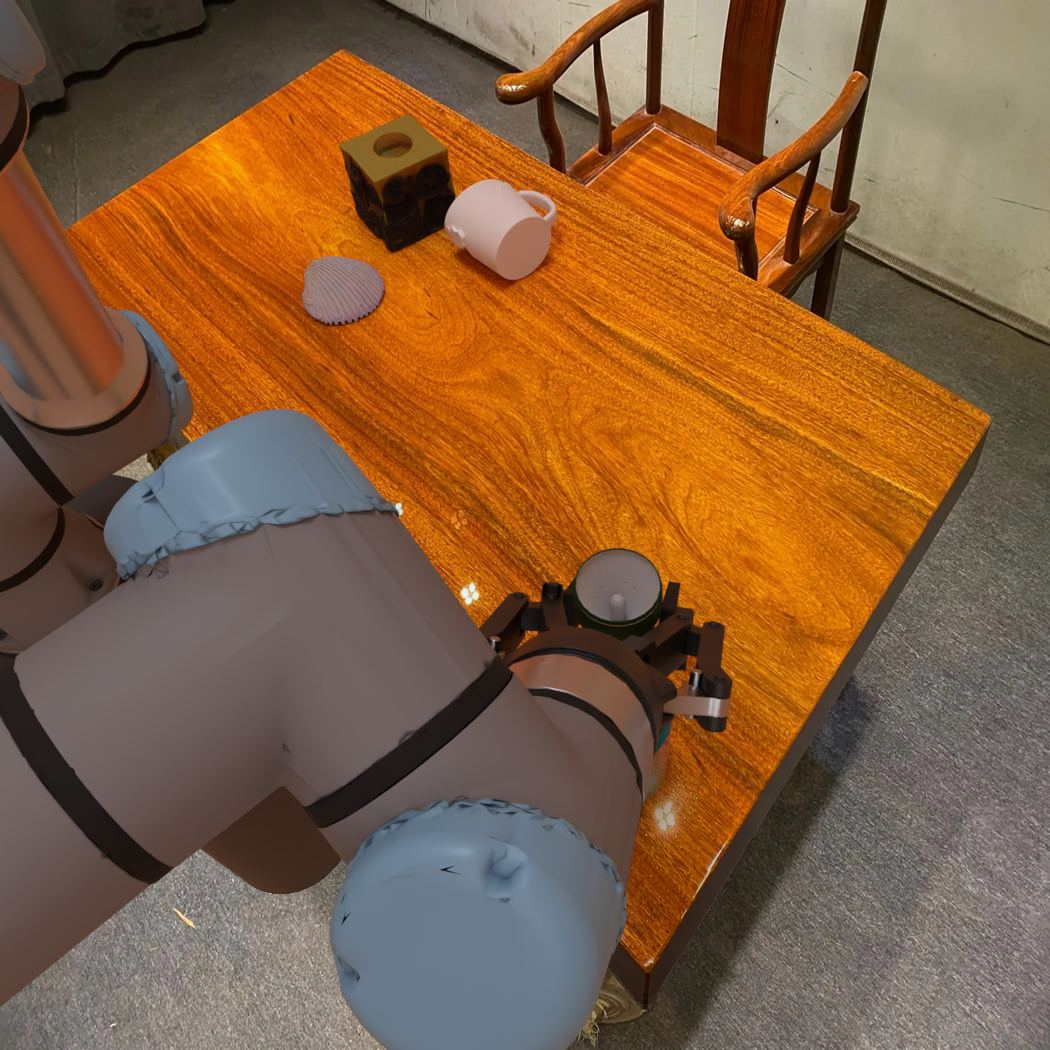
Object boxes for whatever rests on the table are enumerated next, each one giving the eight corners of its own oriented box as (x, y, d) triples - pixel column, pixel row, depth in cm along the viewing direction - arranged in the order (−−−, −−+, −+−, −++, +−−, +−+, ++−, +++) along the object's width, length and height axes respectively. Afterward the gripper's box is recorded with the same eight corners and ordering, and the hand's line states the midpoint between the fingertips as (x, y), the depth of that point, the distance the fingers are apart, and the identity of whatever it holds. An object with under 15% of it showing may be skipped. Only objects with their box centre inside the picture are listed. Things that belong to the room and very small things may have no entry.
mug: (494, 295, 108) (485, 239, 102) (449, 255, 113) (438, 200, 106) (575, 248, 112) (572, 191, 105) (528, 212, 116) (522, 155, 110)
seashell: (326, 234, 112) (387, 242, 107) (344, 272, 116) (403, 282, 111) (271, 284, 108) (331, 296, 102) (292, 322, 112) (351, 335, 106)
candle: (391, 254, 114) (373, 184, 106) (354, 214, 119) (334, 144, 111) (462, 220, 117) (449, 149, 108) (422, 182, 122) (408, 111, 114)
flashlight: (572, 738, 68) (557, 605, 52) (600, 680, 71) (594, 534, 54) (637, 766, 67) (643, 637, 50) (663, 705, 69) (676, 563, 53)
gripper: (352, 780, 41) (489, 628, 63) (774, 866, 37) (761, 673, 60) (362, 617, 39) (499, 520, 62) (803, 690, 36) (778, 559, 58)
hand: (627, 595), depth 61 cm, fingers closed on flashlight, 5 cm apart
